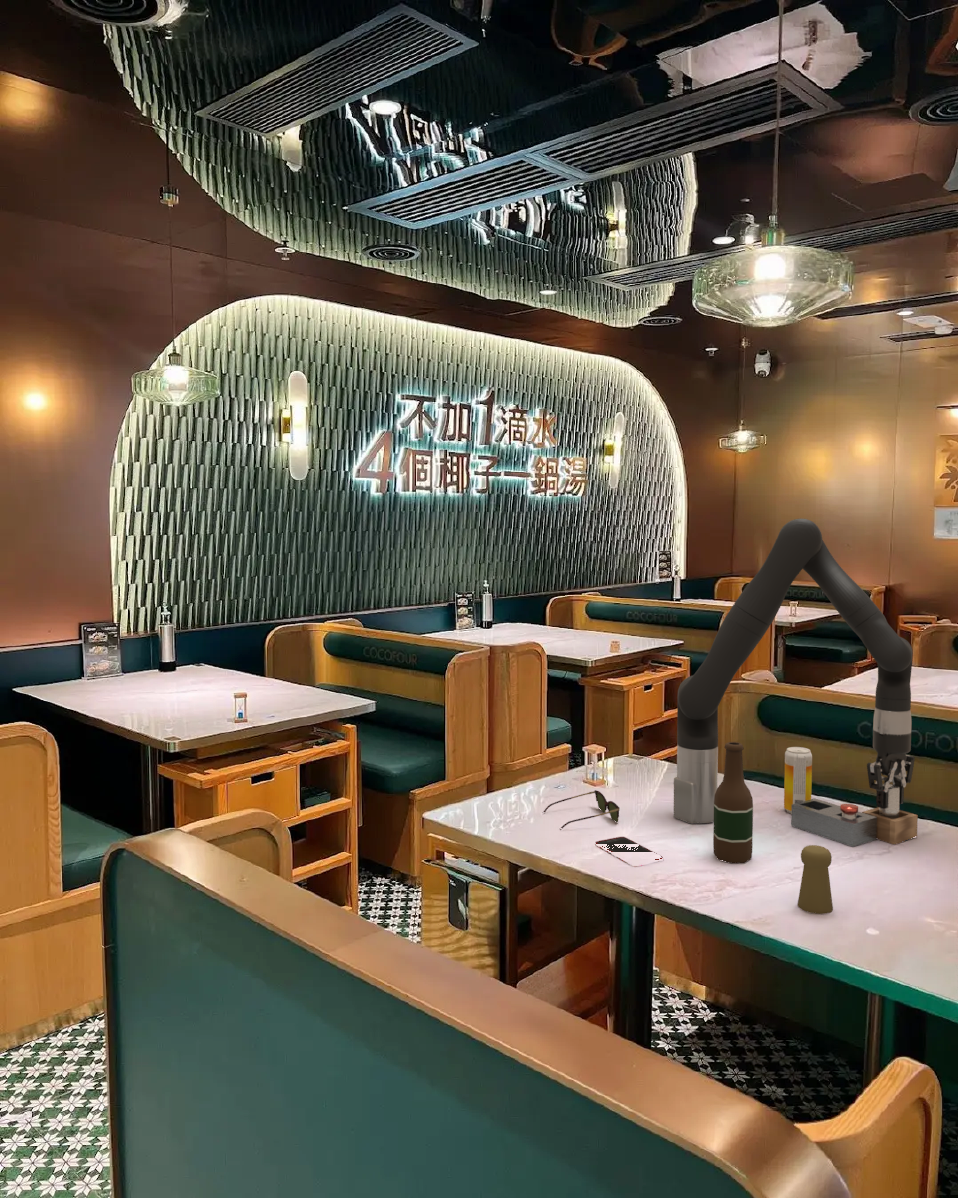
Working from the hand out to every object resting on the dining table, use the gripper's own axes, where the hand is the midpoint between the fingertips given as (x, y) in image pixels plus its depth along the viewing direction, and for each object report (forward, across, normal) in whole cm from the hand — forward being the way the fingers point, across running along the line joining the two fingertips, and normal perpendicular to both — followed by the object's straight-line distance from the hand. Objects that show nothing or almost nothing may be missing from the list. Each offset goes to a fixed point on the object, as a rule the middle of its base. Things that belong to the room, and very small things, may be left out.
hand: (889, 805), depth 200 cm
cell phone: (+7, +54, -24) cm, 60 cm away
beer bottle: (+7, +38, -10) cm, 40 cm away
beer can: (+7, +3, -22) cm, 23 cm away
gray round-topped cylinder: (+7, 0, 0) cm, 7 cm away
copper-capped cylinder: (+6, +9, -4) cm, 11 cm away
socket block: (+7, +8, -8) cm, 14 cm away
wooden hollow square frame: (+7, 0, 0) cm, 7 cm away
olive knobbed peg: (+7, +44, +15) cm, 47 cm away
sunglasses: (+8, +49, -47) cm, 68 cm away
